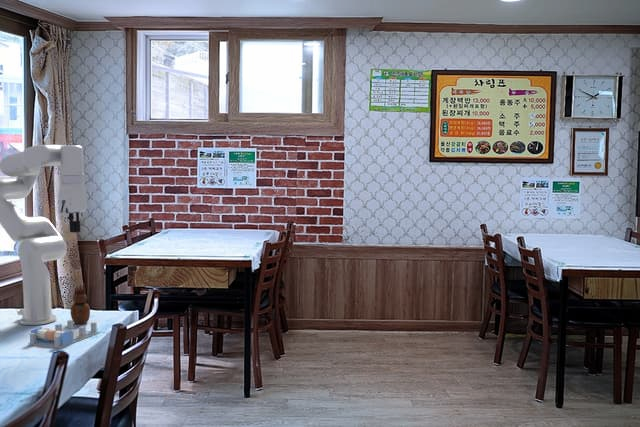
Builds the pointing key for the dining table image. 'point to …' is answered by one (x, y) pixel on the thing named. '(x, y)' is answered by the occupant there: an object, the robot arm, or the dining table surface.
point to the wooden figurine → (80, 307)
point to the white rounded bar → (47, 334)
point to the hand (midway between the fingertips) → (75, 232)
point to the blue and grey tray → (63, 335)
